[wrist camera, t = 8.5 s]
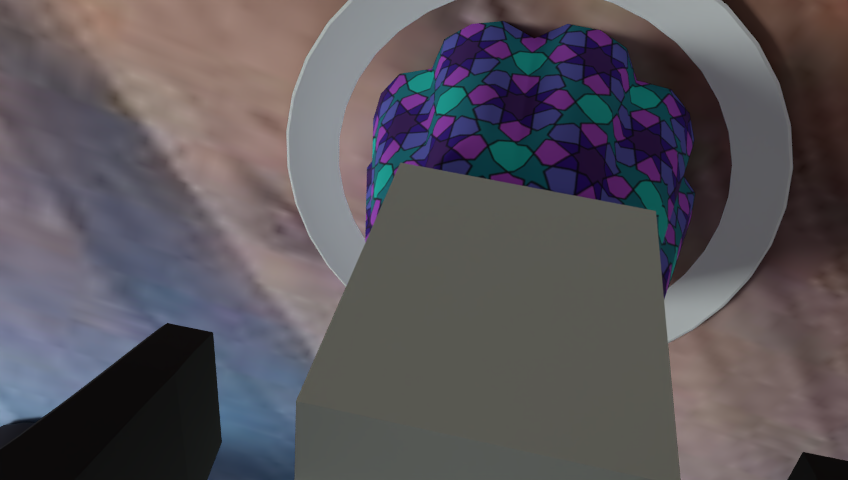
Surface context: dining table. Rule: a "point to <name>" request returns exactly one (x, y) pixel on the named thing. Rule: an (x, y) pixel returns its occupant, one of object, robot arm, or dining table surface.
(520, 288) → the block
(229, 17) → the dining table surface
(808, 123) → the dining table surface
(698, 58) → the pudding
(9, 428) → the bottle
